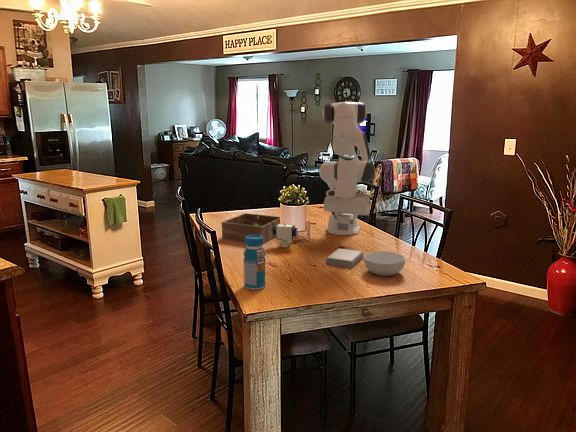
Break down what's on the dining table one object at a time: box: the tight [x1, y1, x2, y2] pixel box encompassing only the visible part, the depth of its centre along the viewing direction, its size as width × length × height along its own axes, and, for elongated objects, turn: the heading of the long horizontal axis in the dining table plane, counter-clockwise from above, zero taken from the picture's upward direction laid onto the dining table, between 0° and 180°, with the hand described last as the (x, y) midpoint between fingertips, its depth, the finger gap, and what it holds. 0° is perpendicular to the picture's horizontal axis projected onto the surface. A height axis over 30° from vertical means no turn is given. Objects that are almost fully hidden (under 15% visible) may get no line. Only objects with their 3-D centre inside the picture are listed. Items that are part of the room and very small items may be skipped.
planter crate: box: [221, 212, 281, 245], centre depth 254 cm, size 24×24×9 cm
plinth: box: [325, 248, 364, 269], centre depth 214 cm, size 16×12×3 cm
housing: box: [337, 213, 354, 231], centre depth 210 cm, size 8×5×6 cm, turn 154°
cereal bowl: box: [363, 250, 406, 277], centre depth 198 cm, size 17×17×7 cm
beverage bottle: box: [242, 235, 266, 291], centre depth 181 cm, size 8×8×20 cm
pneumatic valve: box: [273, 222, 298, 249], centre depth 234 cm, size 6×12×12 cm, turn 79°
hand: (345, 222), depth 210 cm, fingers closed on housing, 5 cm apart
